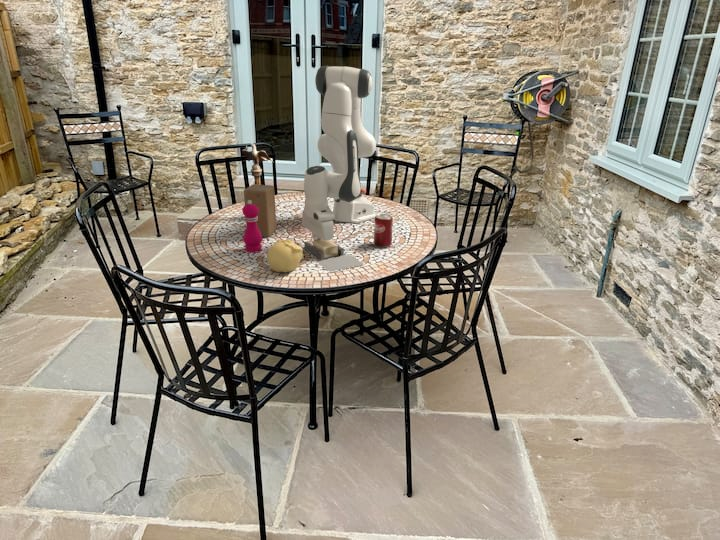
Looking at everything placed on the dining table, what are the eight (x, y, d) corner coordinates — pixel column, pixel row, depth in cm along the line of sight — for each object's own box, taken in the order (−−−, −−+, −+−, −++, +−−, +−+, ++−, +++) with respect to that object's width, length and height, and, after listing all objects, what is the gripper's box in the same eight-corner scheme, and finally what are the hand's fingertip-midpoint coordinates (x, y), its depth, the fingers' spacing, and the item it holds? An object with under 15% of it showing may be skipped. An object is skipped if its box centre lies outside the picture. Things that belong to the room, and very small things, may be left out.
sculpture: (308, 268, 172) (307, 240, 168) (281, 278, 164) (279, 249, 160) (288, 259, 180) (287, 232, 175) (261, 268, 172) (259, 240, 167)
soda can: (379, 249, 191) (380, 220, 186) (370, 243, 197) (371, 214, 192) (394, 246, 194) (396, 217, 189) (385, 240, 200) (387, 212, 195)
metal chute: (326, 245, 194) (325, 237, 192) (343, 256, 183) (343, 249, 182) (304, 249, 189) (304, 242, 188) (321, 261, 178) (321, 254, 177)
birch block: (326, 247, 189) (326, 238, 188) (337, 255, 182) (337, 245, 181) (313, 250, 187) (312, 240, 185) (323, 258, 180) (323, 248, 178)
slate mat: (349, 256, 184) (349, 254, 183) (363, 265, 176) (363, 263, 176) (316, 263, 177) (316, 261, 176) (329, 273, 169) (329, 271, 169)
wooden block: (269, 238, 200) (265, 191, 192) (246, 236, 202) (242, 189, 193) (277, 230, 209) (274, 185, 201) (255, 228, 211) (252, 183, 202)
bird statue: (253, 209, 235) (247, 136, 221) (278, 211, 233) (274, 137, 219) (239, 220, 220) (232, 142, 206) (266, 222, 218) (261, 143, 204)
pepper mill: (242, 247, 190) (238, 198, 182) (260, 245, 192) (257, 196, 184) (246, 254, 184) (241, 203, 175) (264, 251, 186) (261, 201, 178)
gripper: (297, 204, 189) (298, 237, 195) (321, 218, 174) (322, 253, 179) (311, 202, 192) (312, 234, 198) (336, 215, 177) (336, 250, 182)
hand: (317, 243), depth 189 cm, fingers closed
